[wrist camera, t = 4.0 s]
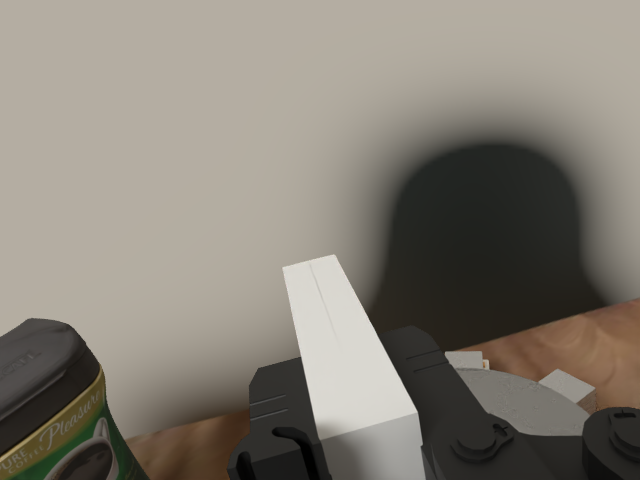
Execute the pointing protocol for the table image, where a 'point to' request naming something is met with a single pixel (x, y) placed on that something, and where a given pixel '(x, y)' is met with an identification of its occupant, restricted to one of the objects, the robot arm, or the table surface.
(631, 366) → the table surface
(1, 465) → the coffee jar
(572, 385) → the sprocket
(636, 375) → the table surface
